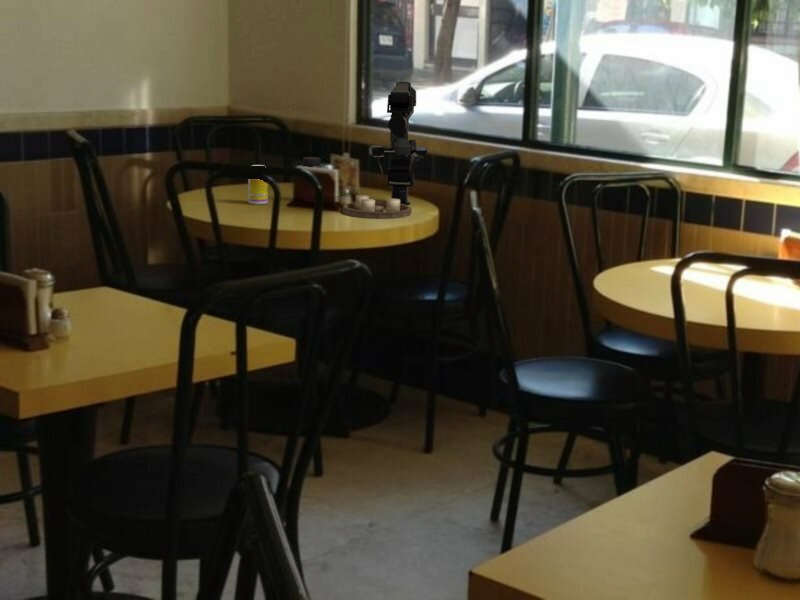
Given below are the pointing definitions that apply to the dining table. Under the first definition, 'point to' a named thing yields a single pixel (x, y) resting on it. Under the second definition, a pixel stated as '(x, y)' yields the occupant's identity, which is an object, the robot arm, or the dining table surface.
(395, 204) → the bead
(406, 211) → the tray
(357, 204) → the loose bead
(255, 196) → the supplement bottle
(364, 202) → the bead
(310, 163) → the deodorant
